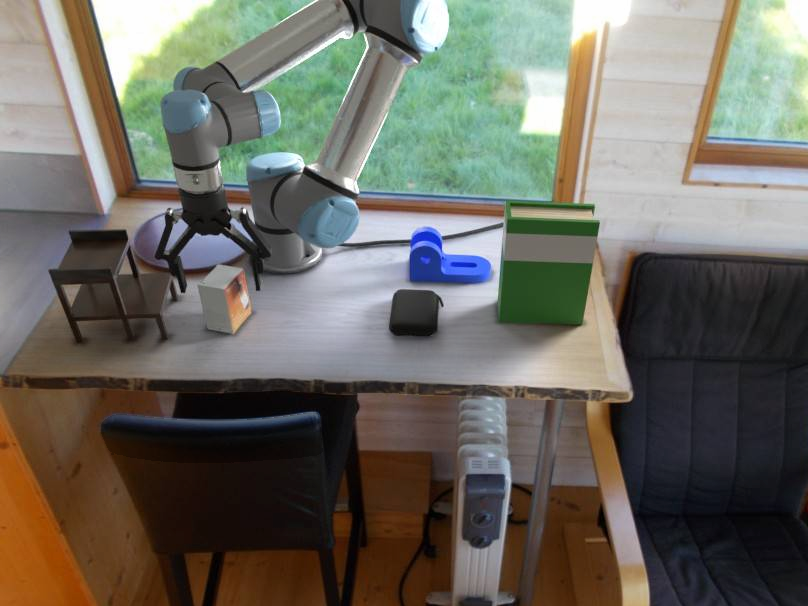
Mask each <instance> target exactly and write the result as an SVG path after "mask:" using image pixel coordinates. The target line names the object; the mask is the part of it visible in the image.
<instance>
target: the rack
mask: <svg viewBox="0 0 808 606" xmlns="http://www.w3.org/2000/svg"><path fill="white" fill-rule="evenodd" d="M68 235H69V238H70V240H71V242H70V244H69V246H68V248H67V249H66V252H65V254H64V256H63V258H62V260H61V262H60V264H59V266H58V268H49V269H48V271H47V272H48V274H49V277H50V279H51V281H52V284H53V287H54V289H55V291H56V294H57V297H58V300H59V302H60V305H61V307H62V309H63V313H64V315H65V317H66V319H67V323H68V324H69V327H70V330H71V332H72V335H73V338H74V340H75V343H76V344H83V343H84V336H83V335H82V333H81V329H80V327H79V324H78V322H94V321H95V322H96V321H97V322H98V321H118V320H119V321H120V320H121V323H122V326H123V329H124V332H125V335H126V338H127V341H129V342H132V341H135V338H136V337H135V334H134V330H133V327H132V325H131V322H130V320H142V319H144V320H145V319H155V320H156V324H157V327H158V330H159V335H160V337H161V340H168V339H169V334H168V329H167V326H166V323H165V319H164V316H163V314H164V310H165V307H166V303H167V299H168V296H169V293H170V295H171V296H170V297H171V300H172V301H178V300H179V294H178V291H177V287H176V283H175V280H174V279H175V278H174V276H172V275H171V274H170V272H152V273H140V270H139V267H138V263H137V260H136V256H135V254H134V250H133V246H132V244H131V240H130V236H129V233H128V230H127V229H126V228H118V229H117V228H115V229H114V228H113V229H73V230H71V229H69V230H68ZM126 256H127V260H128V264H129V266H130V270H131V273H124V274H123V273H120V271H121V268H122V266H123V264H124V260H125V259H126ZM119 273H120V274H119ZM70 285H73V286H74V285H80V286H79V289H78V291H77V293H76V295H75V298H74V300H73V302H72V304H70V303H71V302H70V301H69V298H68V295H67V293H66V290H65V288H64V286H70Z"/></svg>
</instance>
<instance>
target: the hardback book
mask: <svg viewBox="0 0 808 606" xmlns="http://www.w3.org/2000/svg"><path fill="white" fill-rule="evenodd" d="M595 209H596V204H595V203H579V202H578V203H577V202H557V201H556V202H555V201H534V200H533V201H531V200H530V201H528V200H506V199H505V200H504V209H503V211H504V213H503V222H504V223H503V222H502V223H503V226H502V236H501V237H502V238H501V249H500V250H501V251H500V265H499V278H498V289H497V292H498V293H497V312H498V322H499V323H510V324H548V325H549V324H551V325H553V324H554V325H583V323H584V318H585V312H586V306H587V301H588V294H589V289H590V283H591V278H592V271H593V265H594V261H595V255H596V248H597V242H598V238H599V231H600V225H601V222H600V220H599V219H595V217H594V215H595Z"/></svg>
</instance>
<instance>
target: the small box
mask: <svg viewBox="0 0 808 606" xmlns="http://www.w3.org/2000/svg"><path fill="white" fill-rule="evenodd" d="M196 286H197V290H198V294H199V298H200V303H201V307H202V311H203V316H204V320H205V323H206V324H205V325H206V327H207V330H211V331H216V332H221V333H226V334H232V335H234V334H235V333H236V331H237V330H238V329H239V328H240V327H241V326H242V324H243V323H244V322H245V321H246V319H247V318H248V317H249V316H250V315H251V314H252V309H251V308H252V307H251V301H250V296H249V290H248V285H247V280H246V274H245V269H244V268H241V267H237V266H230V265H225V264H220V263H217V264H216V266H215V267H214V268H213V269H211V271H210V272H209V273H208V274H207V275H206V276H205V277H204V278H203V279H202V280H201V281H200V282H198V283H197V284H196Z"/></svg>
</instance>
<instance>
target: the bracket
mask: <svg viewBox="0 0 808 606" xmlns="http://www.w3.org/2000/svg"><path fill="white" fill-rule="evenodd" d="M441 236H442V234H441V233H440V231H438V230H437V229H436V228H434V227H432V226H421V227H417V228H416V229H415V230H414V231H413V232H412V234H411V236H410V239H411V243H410V250H409V260H408V265H409V266H408V267H409V270H408V271H409V282H426V283H427V282H428V283H456V284H457V283H458V284H479V283H483V282H485V281H487V280H489V278H490V277H491V272H492V264H491V262H490V261H489V260H488V259H486V258H485V257H482V256H479V255H473V254H449V253H445V252H444V251H443V240H442V237H441Z"/></svg>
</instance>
